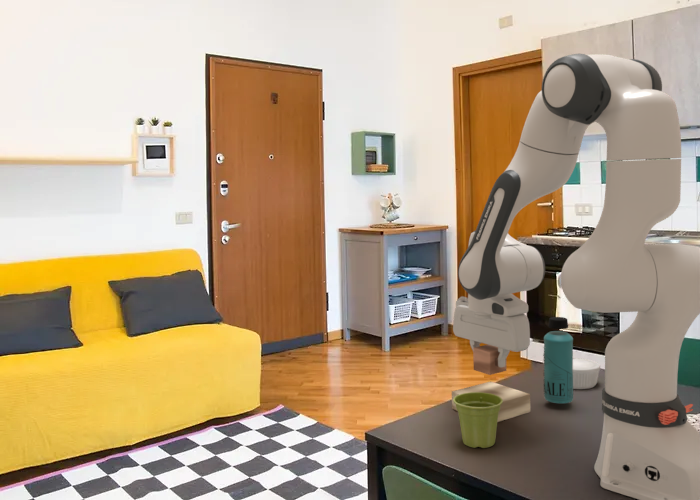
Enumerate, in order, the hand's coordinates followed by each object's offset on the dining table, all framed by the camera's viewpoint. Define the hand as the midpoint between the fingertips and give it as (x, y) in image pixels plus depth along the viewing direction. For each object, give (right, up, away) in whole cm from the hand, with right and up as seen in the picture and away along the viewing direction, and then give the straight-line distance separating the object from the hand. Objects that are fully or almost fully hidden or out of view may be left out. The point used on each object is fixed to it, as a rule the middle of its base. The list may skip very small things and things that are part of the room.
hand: (489, 363), depth 143 cm
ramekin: (+25, -9, +18) cm, 32 cm away
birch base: (0, -11, +1) cm, 11 cm away
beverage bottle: (+16, -10, +2) cm, 19 cm away
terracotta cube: (0, -2, 0) cm, 2 cm away
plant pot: (-6, -13, -17) cm, 22 cm away
